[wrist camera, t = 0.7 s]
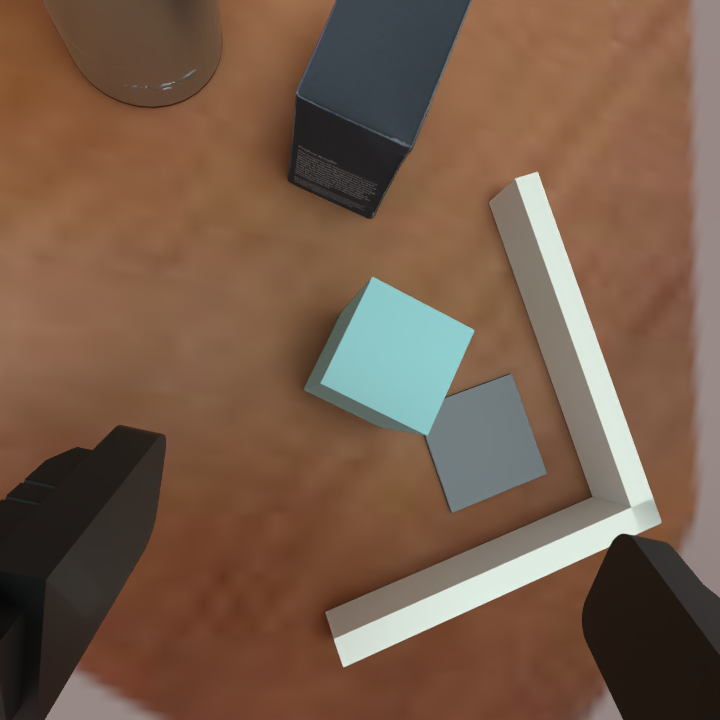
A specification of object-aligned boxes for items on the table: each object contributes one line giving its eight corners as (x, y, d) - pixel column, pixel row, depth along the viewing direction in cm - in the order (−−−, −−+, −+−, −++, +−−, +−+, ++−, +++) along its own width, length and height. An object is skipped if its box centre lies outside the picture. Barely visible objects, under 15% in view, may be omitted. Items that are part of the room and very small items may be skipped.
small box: (340, 41, 37) (371, -99, 27) (428, 85, 38) (491, -35, 28) (280, 181, 36) (289, 89, 25) (373, 222, 36) (419, 150, 26)
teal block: (303, 389, 35) (320, 383, 25) (341, 312, 35) (372, 276, 26) (380, 427, 35) (427, 435, 26) (416, 350, 36) (474, 330, 26)
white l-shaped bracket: (213, 283, 34) (207, 267, 30) (509, 196, 38) (537, 171, 34) (333, 637, 34) (343, 667, 30) (620, 510, 38) (661, 522, 34)
